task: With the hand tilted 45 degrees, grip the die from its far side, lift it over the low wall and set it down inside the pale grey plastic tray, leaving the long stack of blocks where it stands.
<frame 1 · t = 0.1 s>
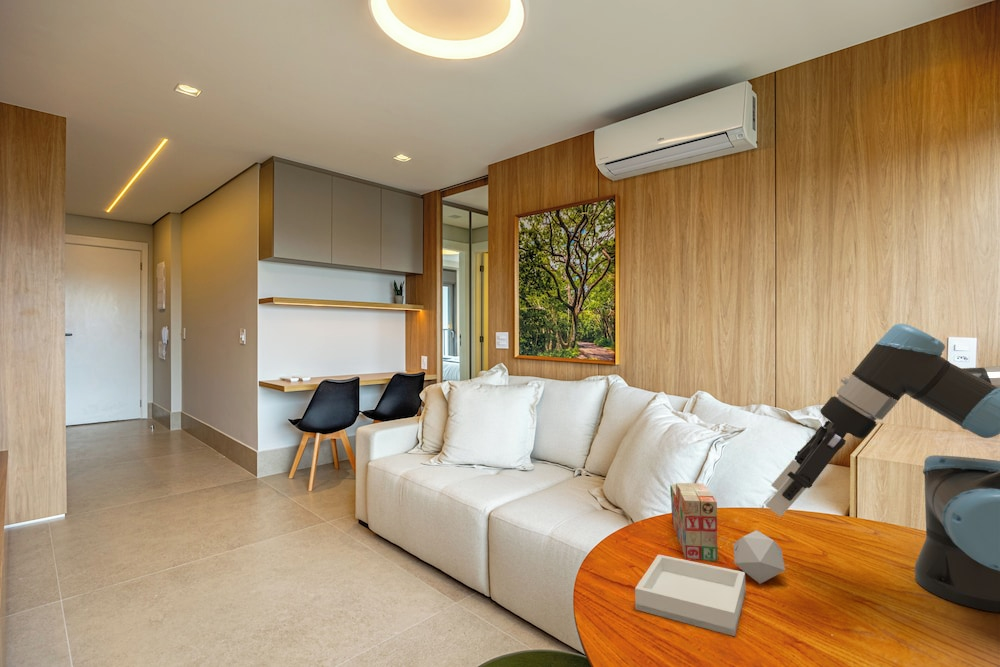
hand: (775, 499, 90), 15 cm above the table, tool tilted 35°, fingers open, 13 cm apart
die: (758, 577, 93), on the table
tray: (692, 600, 85), on the table
stack of blocks: (692, 541, 111), on the table
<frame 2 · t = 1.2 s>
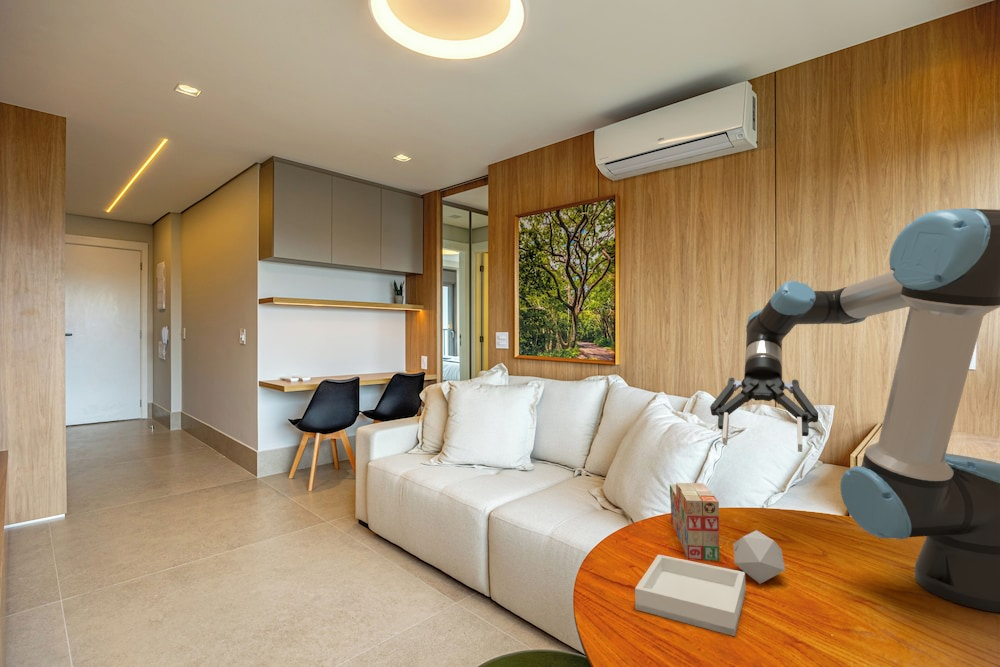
hand: (761, 444, 101), 23 cm above the table, tool tilted 45°, fingers open, 13 cm apart
nothing on the table moved.
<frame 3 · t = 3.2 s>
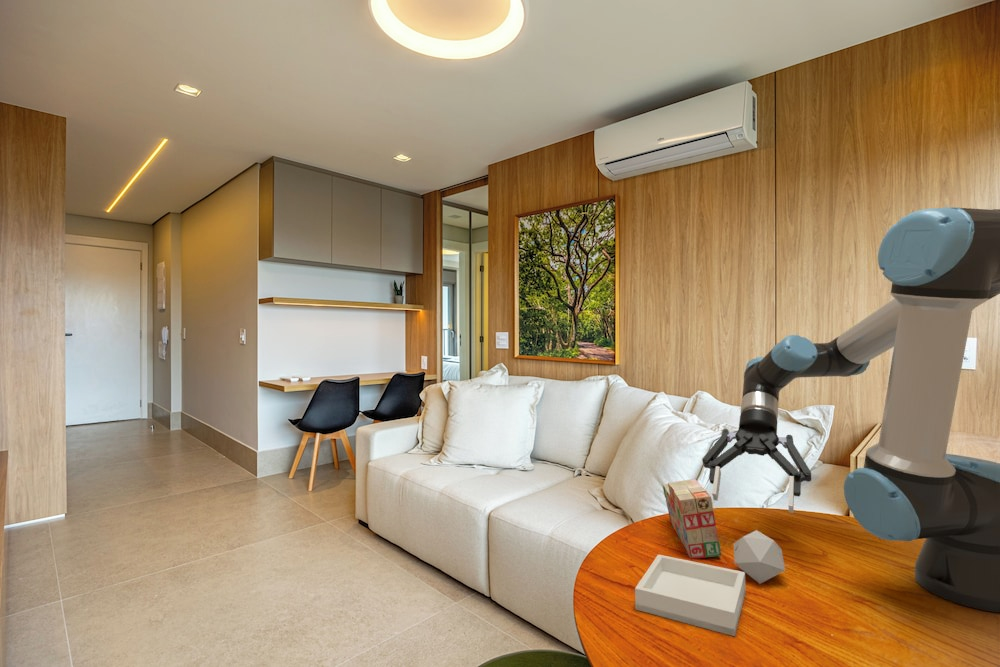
hand: (751, 503, 100), 11 cm above the table, tool tilted 45°, fingers open, 13 cm apart
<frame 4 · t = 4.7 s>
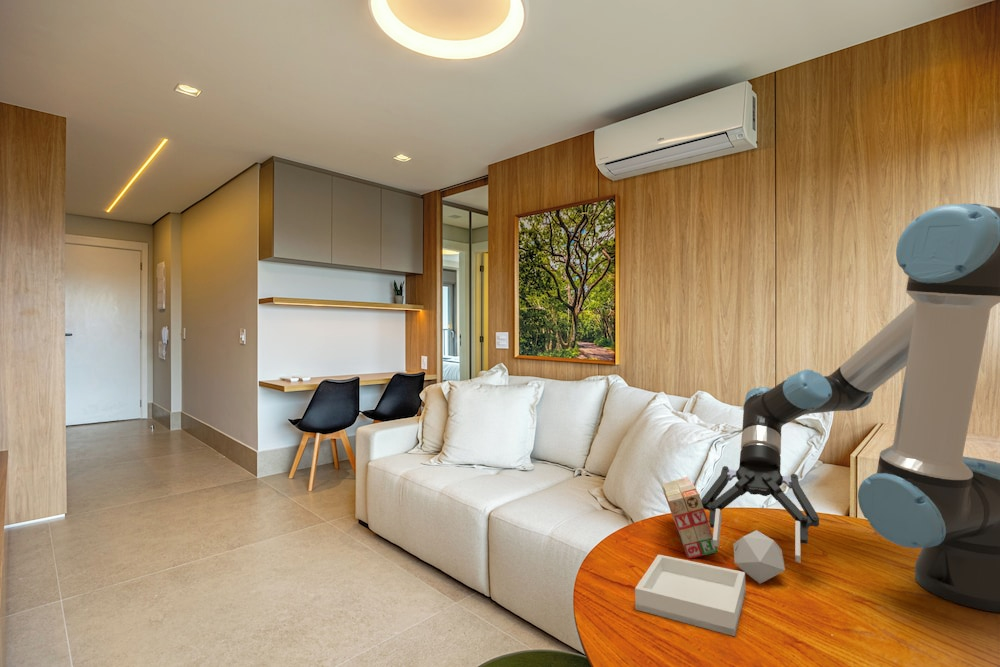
hand: (755, 551, 92), 5 cm above the table, tool tilted 45°, fingers open, 13 cm apart
stack of blocks: (694, 536, 111), point 1 cm above the table, touching gripper
everything else where it was.
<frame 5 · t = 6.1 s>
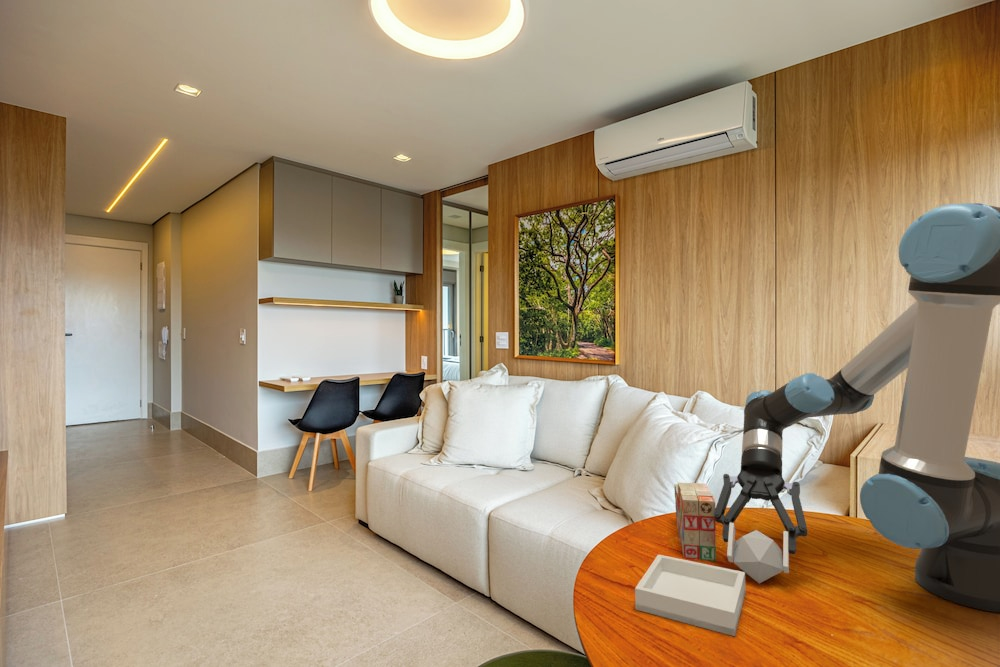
hand: (757, 564, 90), 4 cm above the table, tool tilted 45°, fingers closed on die, 8 cm apart
die: (758, 577, 93), on the table, touching gripper
stack of blocks: (694, 540, 111), on the table
when the fingers open (6 cm above the table, at t = 11.9 s): die stays where it is, resting on tray.
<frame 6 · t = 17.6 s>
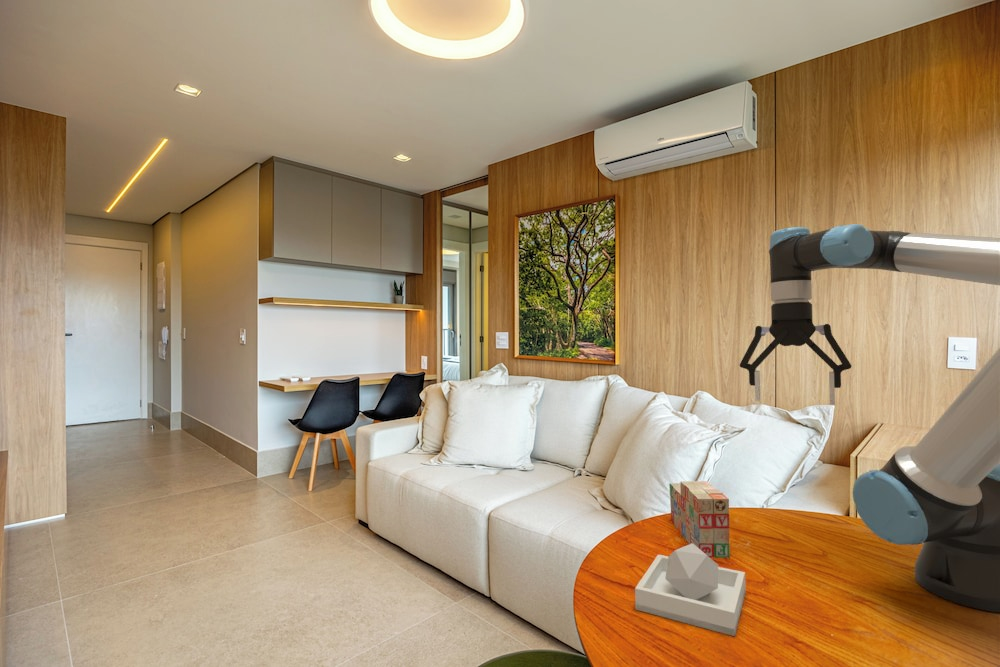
hand: (793, 402, 106), 31 cm above the table, tool pointing down, fingers open, 13 cm apart
die: (692, 595, 85), point 1 cm above the table, touching tray
stack of blocks: (697, 538, 112), on the table
at the end: die inside the target area on the tray (0.2 cm from its centre), point 0.8 cm above the tray's base; the gripper is holding nothing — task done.
